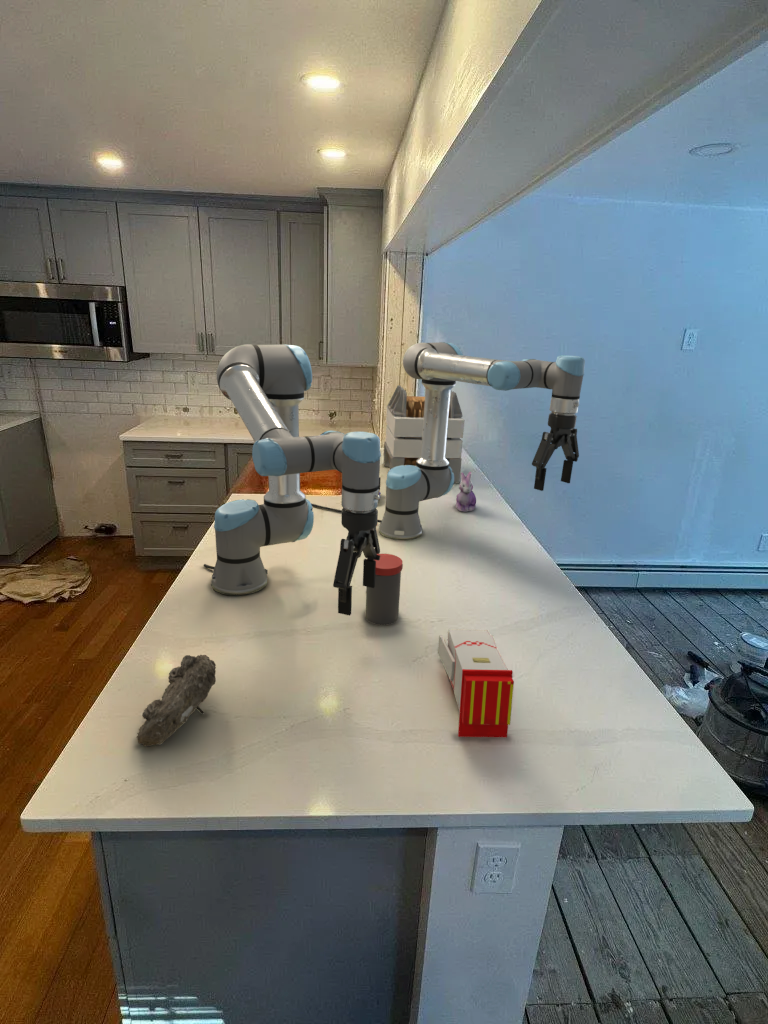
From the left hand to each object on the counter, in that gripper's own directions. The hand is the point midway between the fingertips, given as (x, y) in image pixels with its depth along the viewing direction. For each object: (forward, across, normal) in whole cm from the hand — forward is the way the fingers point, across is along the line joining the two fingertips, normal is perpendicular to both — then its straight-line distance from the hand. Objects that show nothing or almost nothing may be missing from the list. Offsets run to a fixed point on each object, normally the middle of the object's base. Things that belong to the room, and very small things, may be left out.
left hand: (357, 599), depth 124 cm
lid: (-1, +19, +1) cm, 19 cm away
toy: (+14, -2, -27) cm, 31 cm away
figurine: (+14, +112, 0) cm, 113 cm away
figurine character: (+14, +107, +38) cm, 114 cm away
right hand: (-14, +64, -34) cm, 74 cm away
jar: (+14, +19, +1) cm, 24 cm away
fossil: (+14, -30, +23) cm, 41 cm away
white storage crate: (+14, +153, +32) cm, 157 cm away
